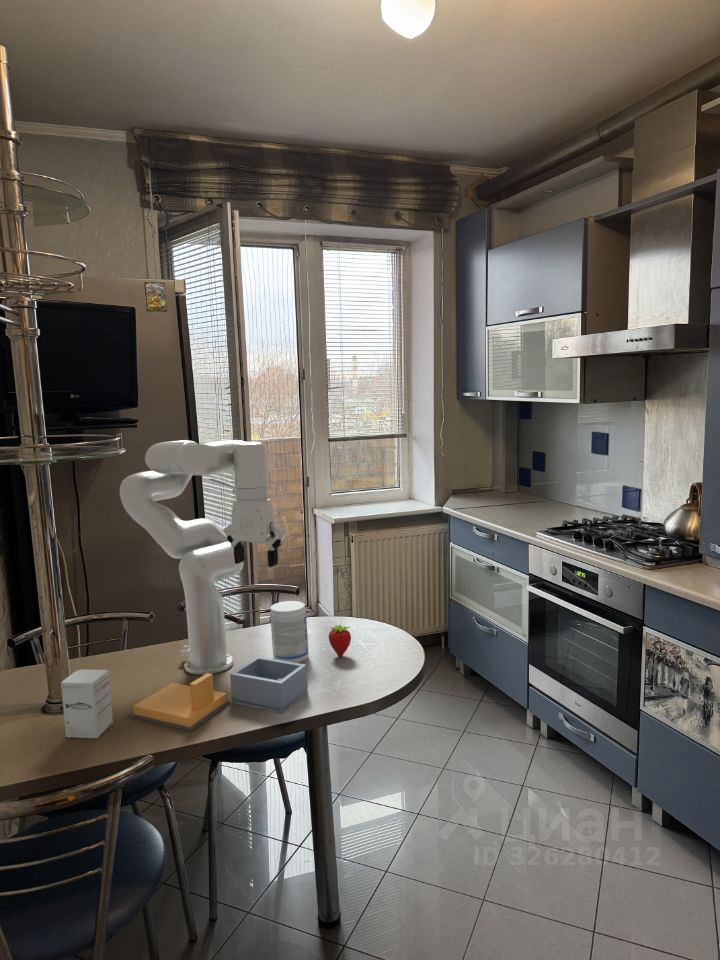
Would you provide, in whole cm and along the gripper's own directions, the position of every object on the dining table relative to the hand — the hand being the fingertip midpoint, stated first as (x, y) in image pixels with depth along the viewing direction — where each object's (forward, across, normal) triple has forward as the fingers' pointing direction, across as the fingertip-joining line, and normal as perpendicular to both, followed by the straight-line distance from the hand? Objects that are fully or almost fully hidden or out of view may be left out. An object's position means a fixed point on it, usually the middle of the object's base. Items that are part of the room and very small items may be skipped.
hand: (256, 564), depth 164 cm
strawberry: (+31, +10, +22) cm, 39 cm away
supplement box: (+31, -22, -34) cm, 51 cm away
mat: (+30, -10, -19) cm, 37 cm away
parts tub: (+30, +6, -6) cm, 31 cm away
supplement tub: (+31, -2, +16) cm, 34 cm away
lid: (+29, -10, -19) cm, 36 cm away
